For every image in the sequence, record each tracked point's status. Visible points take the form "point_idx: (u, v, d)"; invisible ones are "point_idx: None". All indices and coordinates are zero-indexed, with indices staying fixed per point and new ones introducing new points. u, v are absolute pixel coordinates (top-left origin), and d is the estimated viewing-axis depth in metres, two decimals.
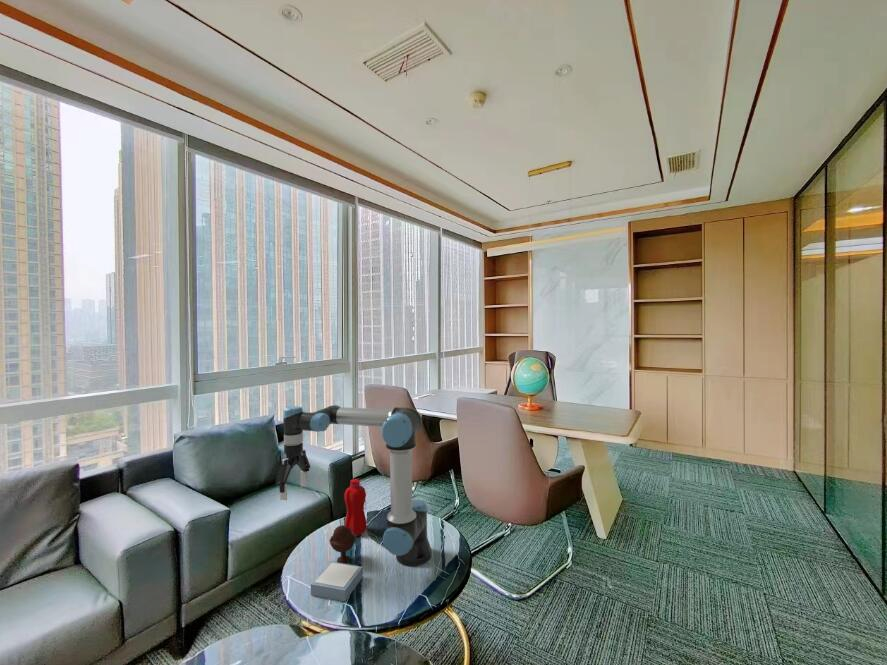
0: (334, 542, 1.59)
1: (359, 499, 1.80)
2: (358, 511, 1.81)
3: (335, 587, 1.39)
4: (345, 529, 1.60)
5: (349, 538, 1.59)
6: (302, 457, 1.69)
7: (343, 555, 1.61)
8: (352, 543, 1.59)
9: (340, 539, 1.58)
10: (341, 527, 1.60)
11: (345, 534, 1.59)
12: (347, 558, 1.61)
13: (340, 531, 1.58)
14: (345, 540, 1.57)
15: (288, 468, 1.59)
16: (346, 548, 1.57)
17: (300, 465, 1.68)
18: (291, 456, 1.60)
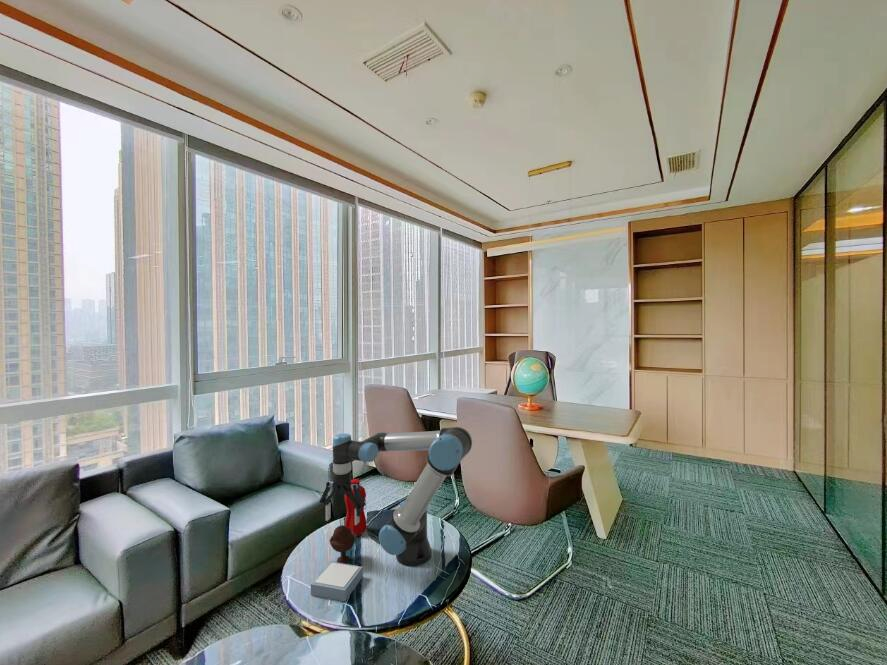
0: (334, 542, 1.59)
1: None
2: None
3: (335, 587, 1.39)
4: (345, 529, 1.60)
5: (349, 538, 1.59)
6: None
7: (343, 555, 1.61)
8: (352, 543, 1.59)
9: (340, 539, 1.58)
10: (341, 527, 1.60)
11: (345, 534, 1.59)
12: (347, 558, 1.61)
13: (340, 531, 1.58)
14: (345, 540, 1.57)
15: (332, 492, 1.62)
16: (346, 548, 1.57)
17: None
18: (334, 482, 1.61)
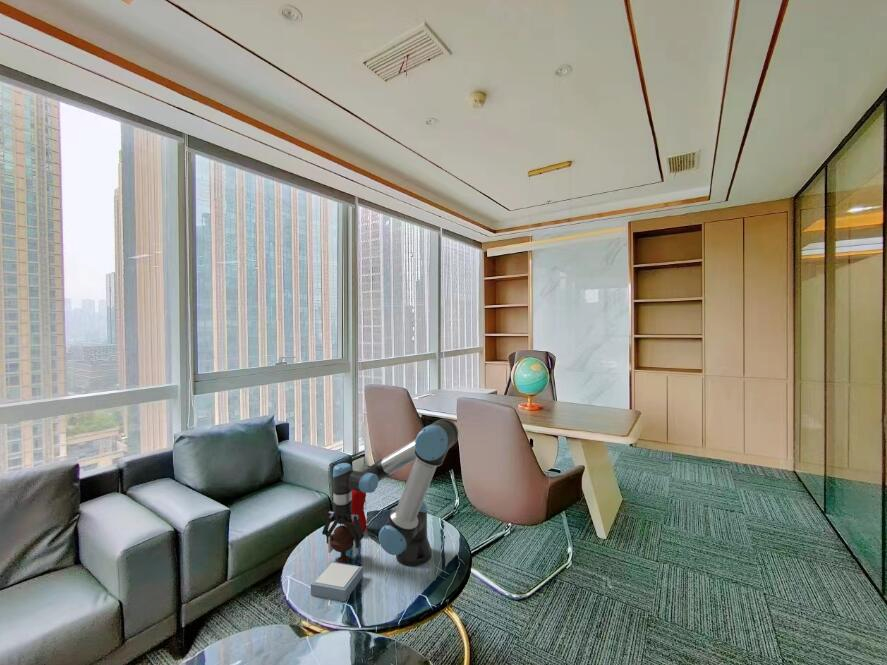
0: (334, 542, 1.59)
1: (359, 499, 1.80)
2: (358, 511, 1.81)
3: (335, 587, 1.39)
4: (345, 529, 1.60)
5: (349, 538, 1.59)
6: None
7: (343, 555, 1.61)
8: (352, 543, 1.59)
9: (340, 539, 1.58)
10: (341, 527, 1.60)
11: (345, 534, 1.59)
12: (347, 558, 1.61)
13: (340, 531, 1.58)
14: (345, 540, 1.57)
15: (333, 523, 1.62)
16: (346, 548, 1.57)
17: None
18: (335, 512, 1.61)
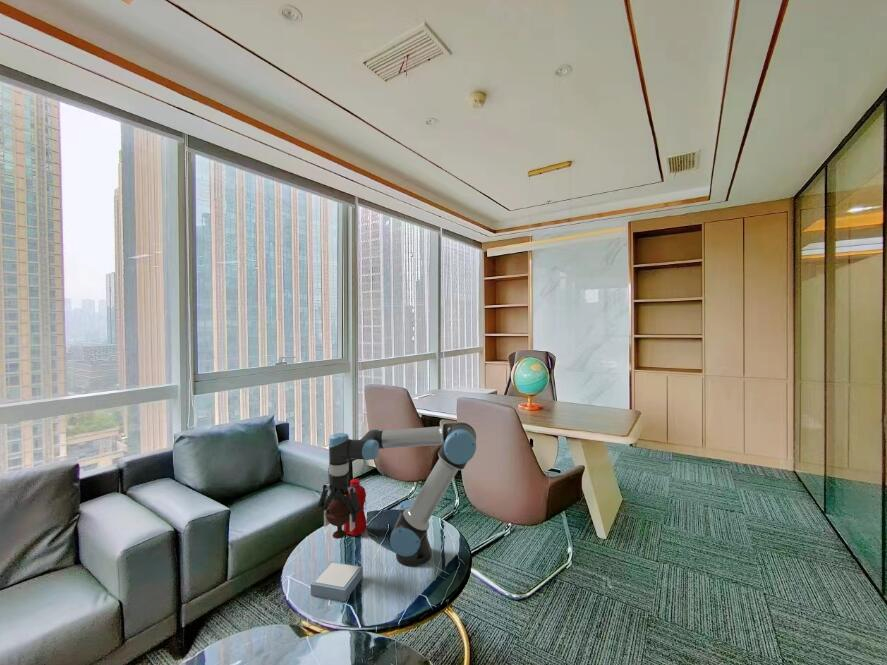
0: (330, 515, 1.51)
1: (359, 499, 1.80)
2: None
3: (335, 587, 1.39)
4: (341, 502, 1.51)
5: (345, 511, 1.50)
6: None
7: (339, 529, 1.53)
8: (348, 517, 1.51)
9: (335, 511, 1.50)
10: (337, 500, 1.52)
11: (341, 507, 1.51)
12: (343, 533, 1.53)
13: (336, 504, 1.50)
14: (341, 513, 1.49)
15: None
16: (342, 522, 1.49)
17: None
18: (331, 484, 1.53)
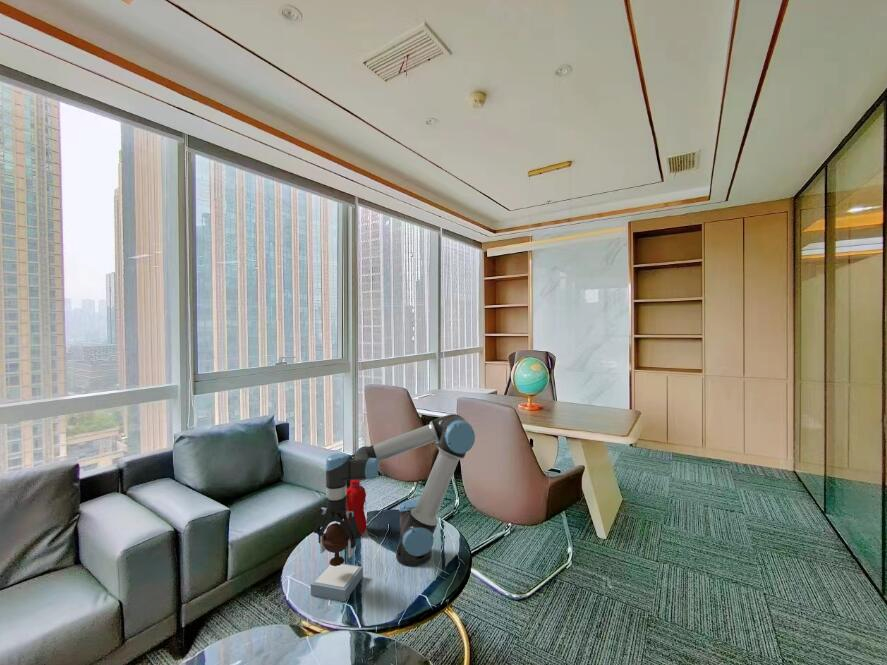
0: (327, 541, 1.43)
1: (359, 499, 1.80)
2: (358, 511, 1.81)
3: (335, 587, 1.39)
4: (339, 527, 1.43)
5: (343, 537, 1.42)
6: None
7: (337, 556, 1.45)
8: (347, 543, 1.43)
9: (333, 538, 1.42)
10: (335, 525, 1.44)
11: (339, 533, 1.43)
12: (341, 559, 1.45)
13: (333, 529, 1.42)
14: (339, 539, 1.41)
15: (326, 520, 1.46)
16: (340, 548, 1.41)
17: None
18: (328, 508, 1.45)
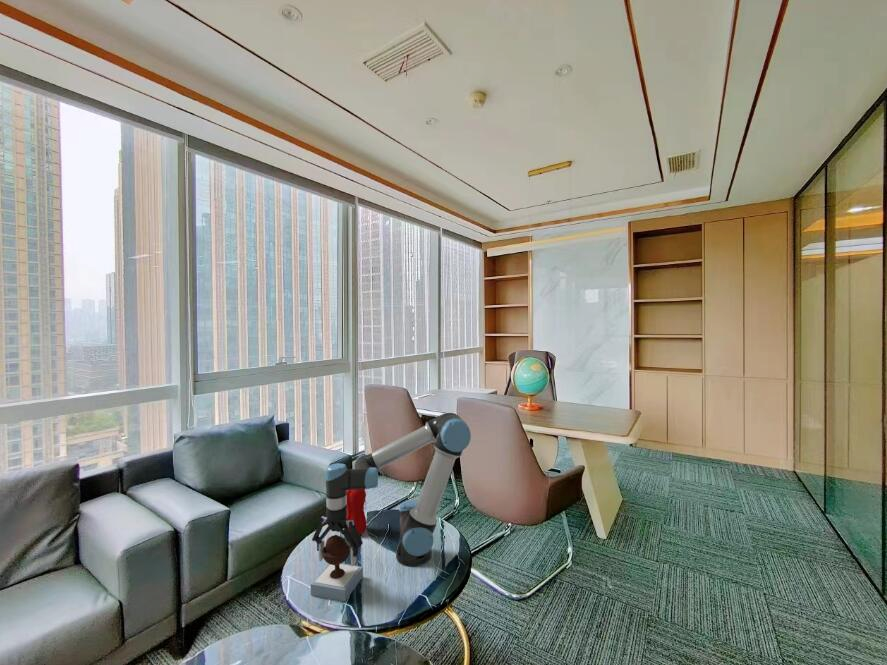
0: (327, 554, 1.43)
1: (359, 499, 1.80)
2: (358, 511, 1.81)
3: (335, 587, 1.39)
4: (339, 539, 1.44)
5: (343, 549, 1.43)
6: None
7: (337, 568, 1.45)
8: (347, 554, 1.43)
9: (333, 550, 1.42)
10: (334, 537, 1.44)
11: (339, 545, 1.43)
12: (341, 571, 1.45)
13: (333, 541, 1.43)
14: (339, 551, 1.42)
15: None
16: (340, 560, 1.41)
17: None
18: (328, 518, 1.45)
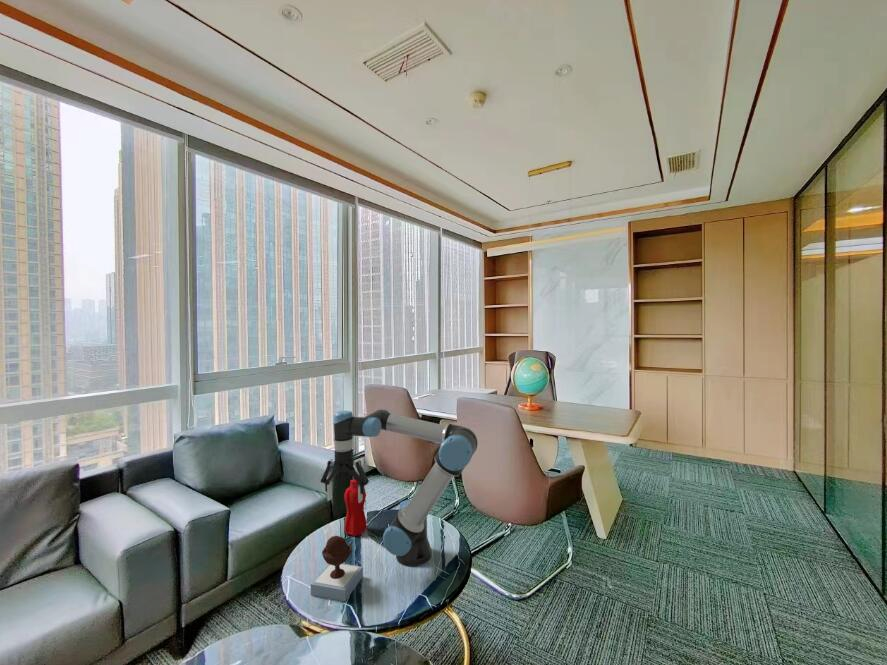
0: (327, 554, 1.43)
1: None
2: (358, 511, 1.81)
3: (335, 587, 1.39)
4: (339, 540, 1.44)
5: (344, 550, 1.43)
6: None
7: (337, 569, 1.45)
8: (347, 555, 1.43)
9: (333, 551, 1.42)
10: (335, 538, 1.44)
11: (339, 545, 1.43)
12: (341, 572, 1.45)
13: (334, 542, 1.42)
14: (339, 552, 1.41)
15: None
16: (340, 561, 1.41)
17: None
18: (336, 461, 1.57)
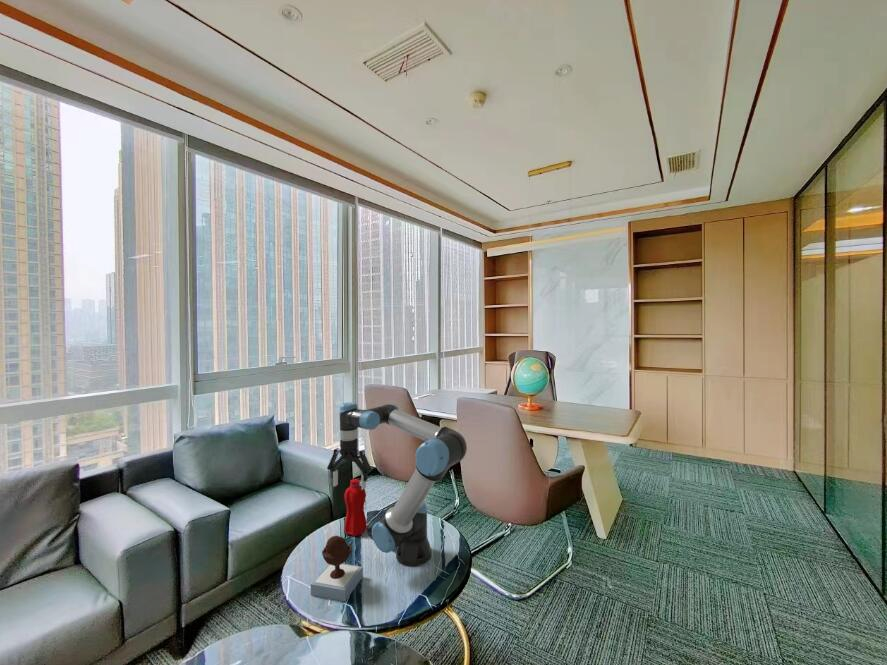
0: (327, 554, 1.43)
1: (359, 499, 1.80)
2: (358, 511, 1.81)
3: (335, 587, 1.39)
4: (339, 540, 1.44)
5: (344, 550, 1.43)
6: None
7: (337, 569, 1.45)
8: (347, 555, 1.43)
9: (333, 551, 1.42)
10: (335, 538, 1.44)
11: (339, 545, 1.43)
12: (341, 572, 1.45)
13: (334, 542, 1.42)
14: (339, 552, 1.41)
15: (339, 459, 1.67)
16: (340, 561, 1.41)
17: None
18: (341, 449, 1.67)
